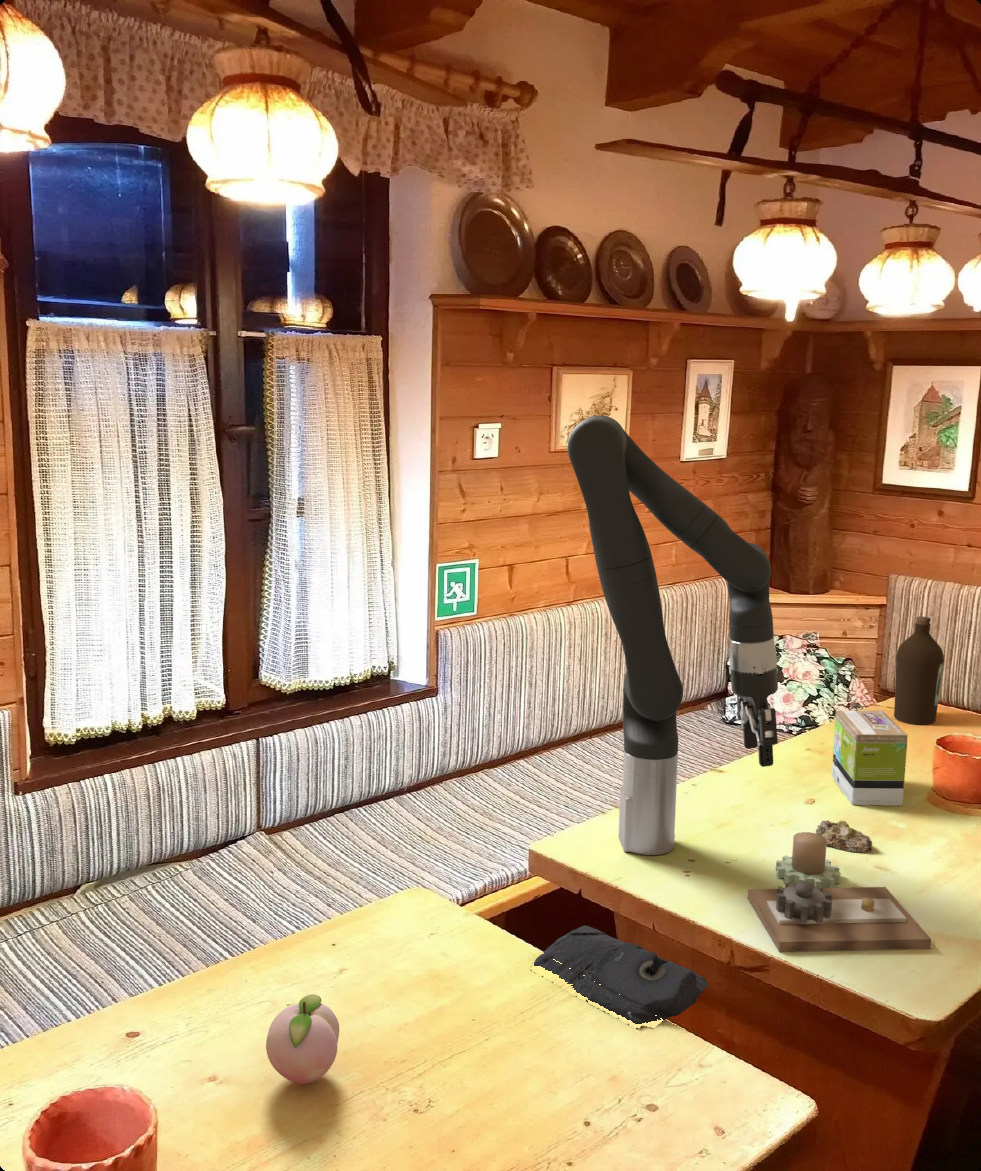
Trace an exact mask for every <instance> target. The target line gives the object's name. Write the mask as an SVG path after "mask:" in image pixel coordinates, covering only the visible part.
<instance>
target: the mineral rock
mask: <svg viewBox="0 0 981 1171" xmlns="http://www.w3.org/2000/svg"><path fill="white" fill-rule="evenodd" d="M815 833H816V834H819V835H821V836H823V837H825V838H826V840H827V844H826V847H832V848H833V849H837V850H838V849H839V850H843V851H846V852H850V853H857V852H858V853H859V852H861V853H865V852H867V853H868V852H869V853H871V852H872V851H873V848H872V846H873V842H872V840H871V838H870V836H868V835H866V834H864V833H863V832H862V831H860V830H859V831H858V830H857V829H855V828H853V827H850V825H849V823H847V821H846V820H839V821H837V822H832V821H830V820H821V821H820V823H819V824H818V825H817V827H816V829H815Z"/></svg>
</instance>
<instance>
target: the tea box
mask: <svg viewBox="0 0 981 1171" xmlns="http://www.w3.org/2000/svg"><path fill="white" fill-rule="evenodd" d="M834 716H835V717H834V718H835V719H834V733H833V735H834V736H833V750H832V752H833V753H832V765H831V766H832V767H831V768H832V770H831V771H832V772H831V773H832V774H831V775H832V778H833V779H834V781H835V782H836V784H837V785H838V787H839V788H840V789H841V791H842V792H843V794H844V795H845V796H846V798H847V799H848V801H849V802H850V804H851V806H868V805H881V806H882V805H885V806H886V807H893V806H895V807H898V806H899V807H900V806H903V801H904V791H905V790H904V789H905V788H904V787H905V777H906V763H907V750H908V734H907V733H906V732H905V731H904V730H903V729H902V728H901V727H900V726H899V725H898V724H897V723H896V722H895V721H894V720H893V719H892V718H891V717H890V716H889V715H888V714H887V713H886V712H885V711H884V710H837V709H835V714H834ZM885 806H884V807H885ZM882 807H883V806H882Z"/></svg>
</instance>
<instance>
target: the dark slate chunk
mask: <svg viewBox="0 0 981 1171" xmlns="http://www.w3.org/2000/svg"><path fill="white" fill-rule="evenodd" d="M543 953H544V954H543ZM543 953H542V954H540V955H538V957H536V958H535V960H534V961H535V962H534V961H533V963H534V966H541V967H543V968H545V970H548V971H552V973H553V974H557V975H559V978H561V979H564V980H565V982H568V983H567V984H573V985H571V986H573V987H572V988H574V990H576V992H577V993H580V994H581V995H582V996H584V997H587V998H588V1000H590V1001H592V1002H595V1003H598V1004H599V1005H600V1006H603V1007H604V1008H606V1009H608V1010H609V1011H613V1012H615V1013H616V1014H617V1015H621V1016H622V1017H625V1018H626V1019H627V1020H631V1021H632V1022H633V1023H635V1024H642V1023H645V1022H646V1023H648V1022H651V1021H657V1019H658V1020H661V1019H660V1018H662V1019H663V1020H665V1021H666V1020H667V1019H669V1018H672V1017H677V1016H679V1015H681V1014H683V1013H684V1012H685V1011H686V1010H688V1009H689V1008H690V1007H691V1006H693V1005H694V1004H696V1003H697V1000H698V998H699V999H700V995H701V994H703V993H704V992H703V990H706V988H707V987H708V986H709V984H708V981H707V980H706V978H705V977H703V976H702V975H699V974H698V973H696V972H694V971H693V970H692V969H689V968H687V967H685V966H682V965H679V964H676V963H675V962H674V961H671V960H666V959H664V958H661V957H659V956H658V955H657V953H655V952H653V951H649V950H648V949H645V948H644V947H641V946H640V945H638V944H636V943H633V942H624V941H623V940H622V939H618V938H615V937H612V936H610V935H608V934H606V933H605V932H603V931H601V930H599V929H597V928H594V927H591V926H590V925H582V926H580V927H577V928H576V929H572V930H571V931H570V932H568V933H566V934H565V935H563V936H560V937H559V938H558V939H556V941H554V943H552V944H551V945H550V946H548V947H547V949H546V950H544V952H543ZM553 959H555V960H556V961H559V962H560V963H562V964H560V963H559V962H556V961H555V960H553ZM569 968H571V969H569ZM583 975H585V976H583ZM594 981H595V982H594ZM599 984H601V985H599ZM619 994H620V995H619ZM655 1015H657V1016H655ZM663 1022H664V1021H662V1023H663Z"/></svg>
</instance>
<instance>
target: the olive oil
mask: <svg viewBox="0 0 981 1171" xmlns="http://www.w3.org/2000/svg"><path fill="white" fill-rule="evenodd" d="M930 622H931V618H930V617H928V616H922V615H921V616H916V617H915V622H914V632H913V633H912V634H911V635H910V636H908V638H906V639H904V641H903V642H902V643H901V644H900V645H899V647H898V648H897V651H896V655H895V679H894V680H895V681H894V682H895V684H894V705H893V706H894V712H893V718H894V719H896V720H897V721H899V722H902V723H906V724H912V725H920V726H924V725H932V724H934V723H936V720H937V715H938V714H937V712H938V705H939V698H940V692H941V683H942V677H943V671H944V664H945V656H944V652H943V649H942V647H941V645H939V643H938V642H937V641H936V640H935V639H934V638H933V637H932V635H931V633H930V632H931V631H930V630H931V623H930Z"/></svg>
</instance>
